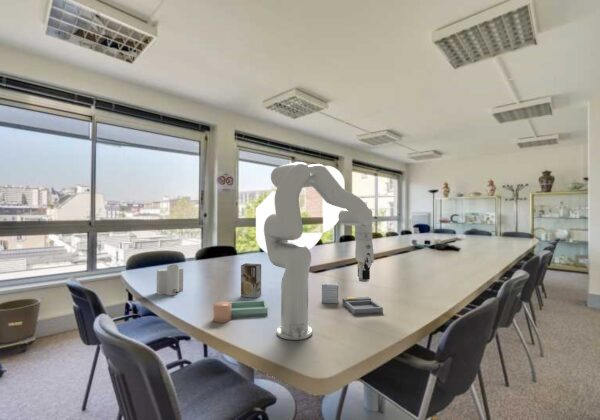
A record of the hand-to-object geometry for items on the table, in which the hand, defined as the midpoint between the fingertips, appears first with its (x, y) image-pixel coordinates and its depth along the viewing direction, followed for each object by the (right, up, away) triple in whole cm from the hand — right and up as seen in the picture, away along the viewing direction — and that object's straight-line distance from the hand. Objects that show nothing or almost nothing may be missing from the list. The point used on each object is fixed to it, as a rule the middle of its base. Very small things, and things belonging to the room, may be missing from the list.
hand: (363, 277), depth 128 cm
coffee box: (-53, -14, +21) cm, 59 cm away
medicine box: (-14, -15, +11) cm, 23 cm away
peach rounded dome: (-59, -14, -13) cm, 62 cm away
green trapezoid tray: (-50, -14, -4) cm, 53 cm away
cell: (0, -1, 0) cm, 1 cm away
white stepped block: (-95, -14, +24) cm, 99 cm away
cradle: (-1, -14, +1) cm, 14 cm away
